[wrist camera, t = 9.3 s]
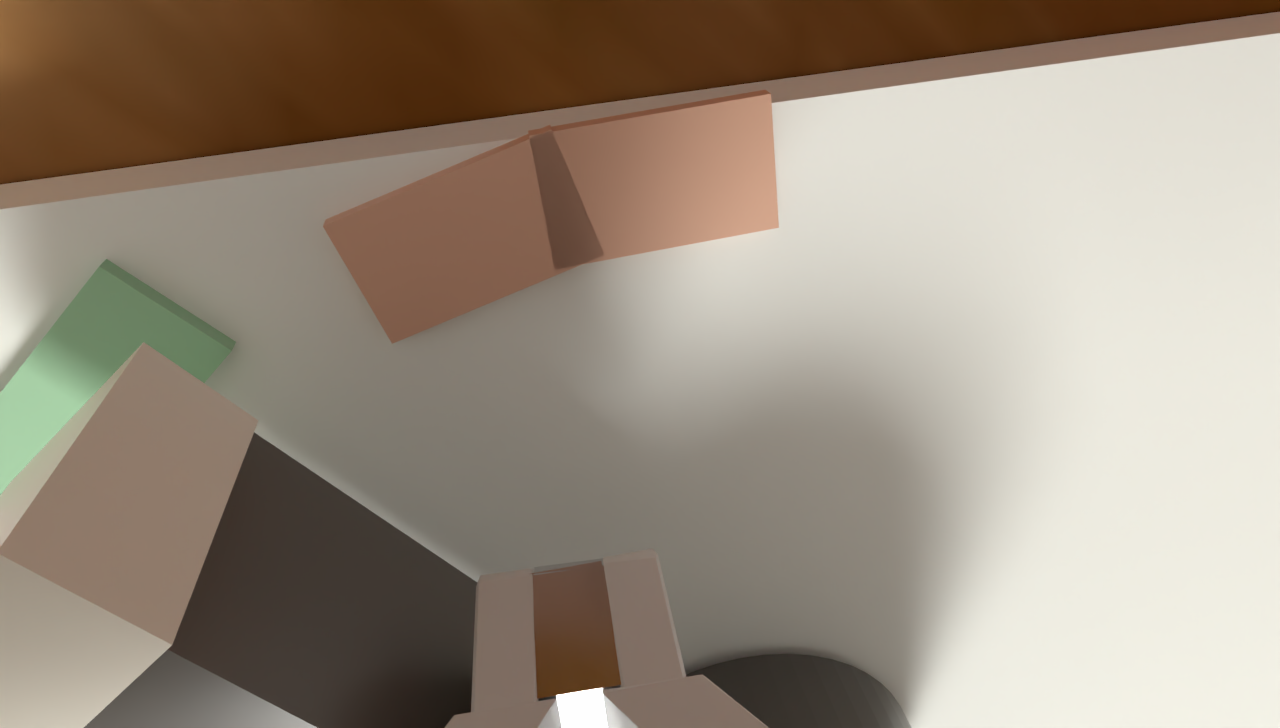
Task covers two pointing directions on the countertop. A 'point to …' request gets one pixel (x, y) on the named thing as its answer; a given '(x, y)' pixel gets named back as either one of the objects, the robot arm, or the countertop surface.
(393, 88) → the countertop surface
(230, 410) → the dial
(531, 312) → the tuner board
